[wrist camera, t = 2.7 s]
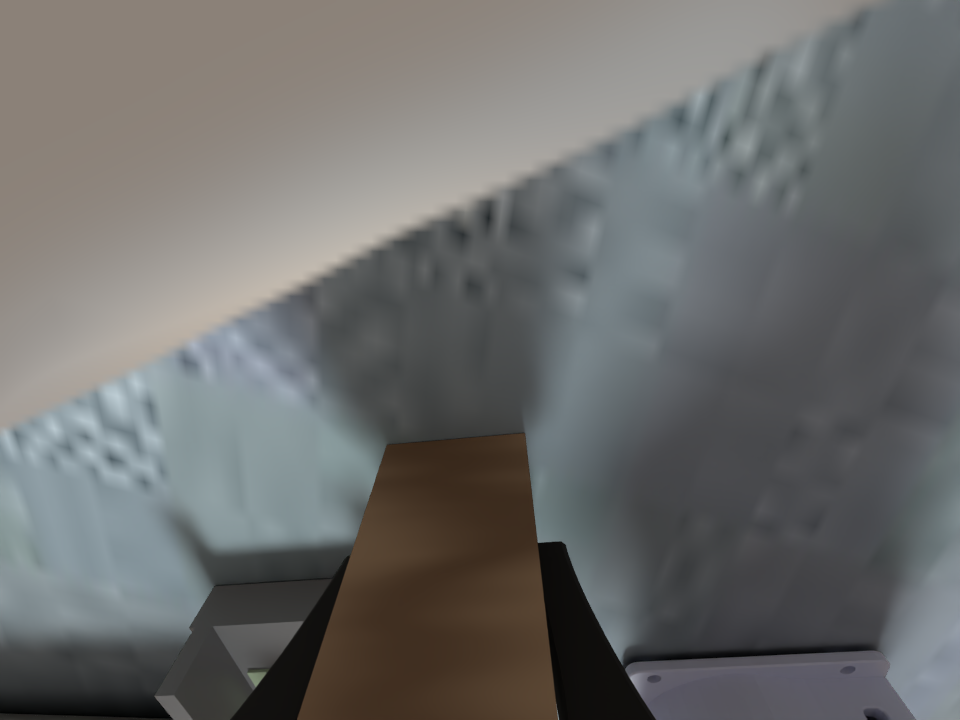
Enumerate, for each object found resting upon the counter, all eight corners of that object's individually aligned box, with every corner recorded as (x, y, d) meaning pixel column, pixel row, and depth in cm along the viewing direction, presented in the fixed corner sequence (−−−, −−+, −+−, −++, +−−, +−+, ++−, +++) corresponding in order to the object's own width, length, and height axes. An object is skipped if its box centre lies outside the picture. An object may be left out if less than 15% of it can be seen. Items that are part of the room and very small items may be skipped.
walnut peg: (524, 432, 13) (569, 820, 6) (534, 533, 15) (576, 921, 7) (386, 444, 13) (261, 827, 6) (412, 541, 15) (341, 923, 8)
